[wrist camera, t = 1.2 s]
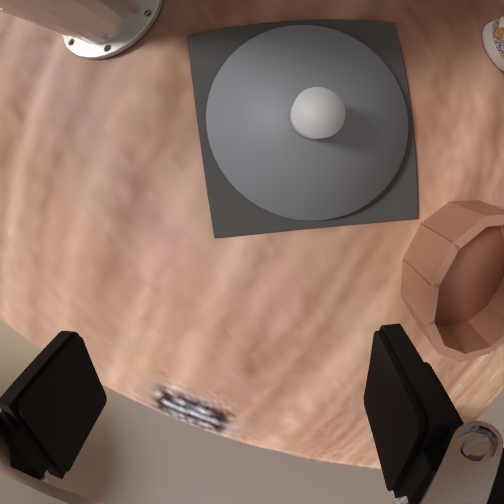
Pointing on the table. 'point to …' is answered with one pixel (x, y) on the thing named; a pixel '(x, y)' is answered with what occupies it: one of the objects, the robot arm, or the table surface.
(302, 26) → the lid
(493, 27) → the bath foam
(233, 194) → the mat
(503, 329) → the bowl
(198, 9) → the table surface
